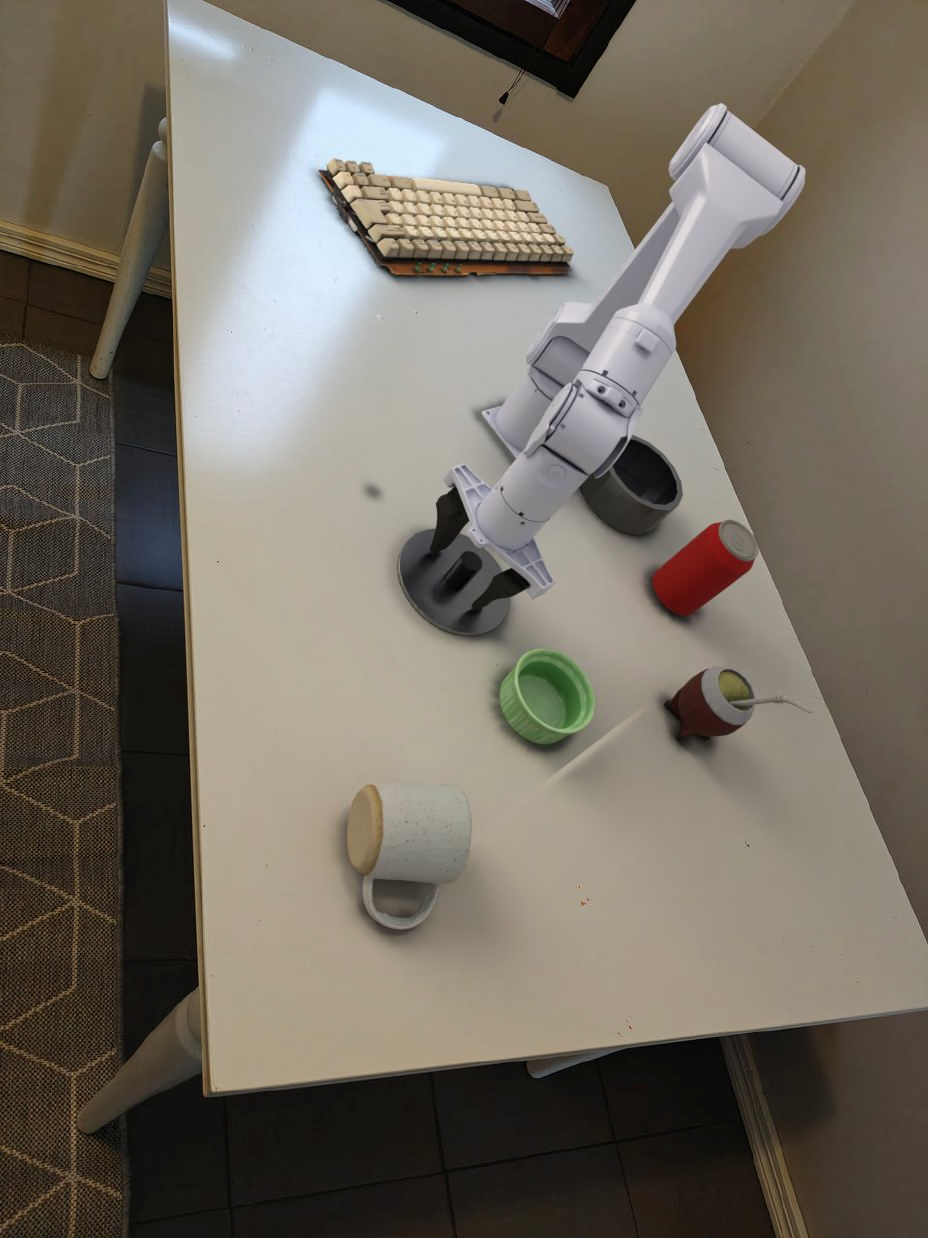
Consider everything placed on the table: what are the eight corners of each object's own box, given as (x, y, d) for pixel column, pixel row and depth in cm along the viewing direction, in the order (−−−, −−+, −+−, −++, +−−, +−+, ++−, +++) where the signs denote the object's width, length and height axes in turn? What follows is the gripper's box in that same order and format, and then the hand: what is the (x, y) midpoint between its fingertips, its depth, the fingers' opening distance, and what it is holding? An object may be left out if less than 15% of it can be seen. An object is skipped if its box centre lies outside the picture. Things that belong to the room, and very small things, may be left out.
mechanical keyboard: (510, 189, 137) (520, 170, 134) (573, 276, 132) (585, 259, 130) (310, 174, 113) (319, 151, 110) (379, 280, 108) (390, 259, 106)
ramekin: (476, 705, 81) (499, 685, 78) (519, 651, 87) (542, 630, 84) (545, 769, 81) (571, 751, 78) (584, 711, 87) (609, 692, 84)
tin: (615, 452, 113) (640, 425, 109) (670, 520, 111) (697, 495, 107) (563, 473, 106) (588, 445, 102) (621, 546, 104) (648, 520, 100)
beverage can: (696, 590, 106) (765, 535, 97) (689, 628, 102) (761, 575, 93) (652, 561, 105) (719, 504, 96) (644, 599, 101) (712, 542, 92)
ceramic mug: (339, 798, 70) (375, 765, 64) (429, 803, 73) (471, 772, 68) (344, 933, 65) (383, 911, 59) (440, 932, 68) (487, 910, 62)
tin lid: (457, 520, 93) (477, 495, 89) (526, 612, 90) (549, 590, 87) (371, 555, 84) (389, 529, 81) (444, 658, 82) (466, 635, 79)
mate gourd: (671, 680, 96) (767, 613, 85) (723, 725, 96) (826, 665, 85) (650, 724, 91) (750, 660, 80) (706, 772, 91) (813, 714, 80)
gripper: (449, 443, 75) (388, 532, 85) (548, 574, 72) (473, 649, 82) (501, 427, 79) (438, 513, 90) (596, 549, 77) (519, 623, 87)
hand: (458, 576), depth 86 cm, fingers open, 7 cm apart
